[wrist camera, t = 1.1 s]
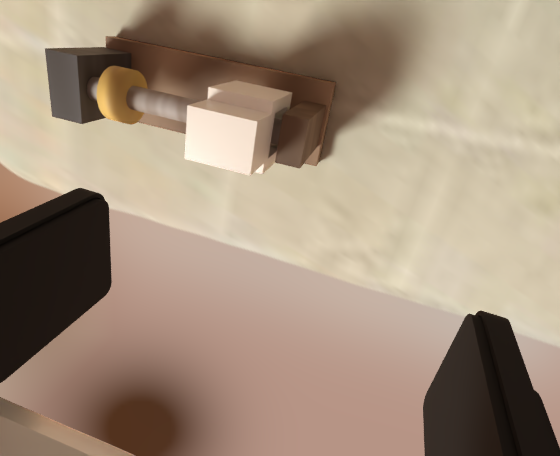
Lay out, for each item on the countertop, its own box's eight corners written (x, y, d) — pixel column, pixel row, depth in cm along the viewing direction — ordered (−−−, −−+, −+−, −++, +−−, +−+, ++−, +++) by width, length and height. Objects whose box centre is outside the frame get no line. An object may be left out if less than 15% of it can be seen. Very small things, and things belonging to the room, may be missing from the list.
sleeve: (292, 92, 26) (259, 108, 20) (281, 156, 28) (248, 187, 22) (236, 80, 27) (187, 91, 21) (229, 143, 29) (184, 170, 23)
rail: (336, 82, 28) (316, 94, 22) (319, 161, 31) (297, 193, 25) (113, 36, 31) (39, 35, 25) (115, 112, 34) (50, 128, 28)
